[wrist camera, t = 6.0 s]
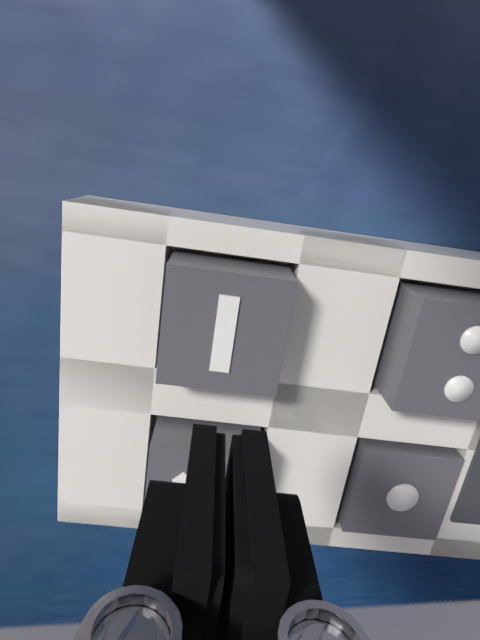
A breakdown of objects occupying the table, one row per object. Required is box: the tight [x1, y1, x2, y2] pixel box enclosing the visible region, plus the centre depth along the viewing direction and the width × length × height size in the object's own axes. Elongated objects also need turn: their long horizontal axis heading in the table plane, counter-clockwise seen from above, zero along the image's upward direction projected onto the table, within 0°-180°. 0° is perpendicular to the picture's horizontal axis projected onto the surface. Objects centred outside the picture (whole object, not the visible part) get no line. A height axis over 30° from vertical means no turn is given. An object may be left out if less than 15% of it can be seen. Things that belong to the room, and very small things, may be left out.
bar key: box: [155, 249, 298, 397], centre depth 19 cm, size 5×5×3 cm
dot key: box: [337, 437, 465, 540], centre depth 24 cm, size 5×5×3 cm
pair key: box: [372, 280, 480, 421], centre depth 20 cm, size 5×5×3 cm
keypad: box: [58, 195, 480, 560], centre depth 23 cm, size 16×24×4 cm, turn 82°
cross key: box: [145, 415, 261, 497], centre depth 22 cm, size 5×5×3 cm
